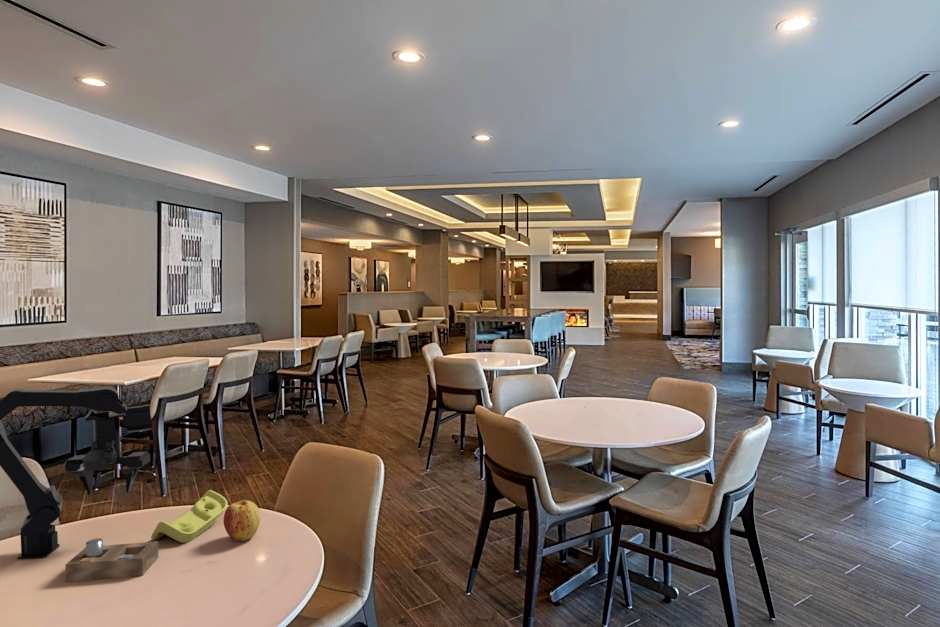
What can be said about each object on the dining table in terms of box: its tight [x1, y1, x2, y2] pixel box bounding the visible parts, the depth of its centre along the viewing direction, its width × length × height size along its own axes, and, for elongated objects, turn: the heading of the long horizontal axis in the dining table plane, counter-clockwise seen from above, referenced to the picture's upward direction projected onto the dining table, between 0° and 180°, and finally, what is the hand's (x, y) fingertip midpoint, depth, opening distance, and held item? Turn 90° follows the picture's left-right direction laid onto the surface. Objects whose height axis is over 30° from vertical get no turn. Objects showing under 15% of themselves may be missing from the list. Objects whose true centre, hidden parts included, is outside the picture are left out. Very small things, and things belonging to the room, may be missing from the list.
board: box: [64, 540, 159, 583], centre depth 131 cm, size 16×9×4 cm, turn 99°
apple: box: [223, 499, 261, 542], centre depth 147 cm, size 9×9×10 cm
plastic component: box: [150, 489, 229, 544], centre depth 154 cm, size 20×7×10 cm
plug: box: [85, 538, 104, 558], centre depth 130 cm, size 3×3×7 cm
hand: (109, 493), depth 148 cm, fingers open, 9 cm apart
